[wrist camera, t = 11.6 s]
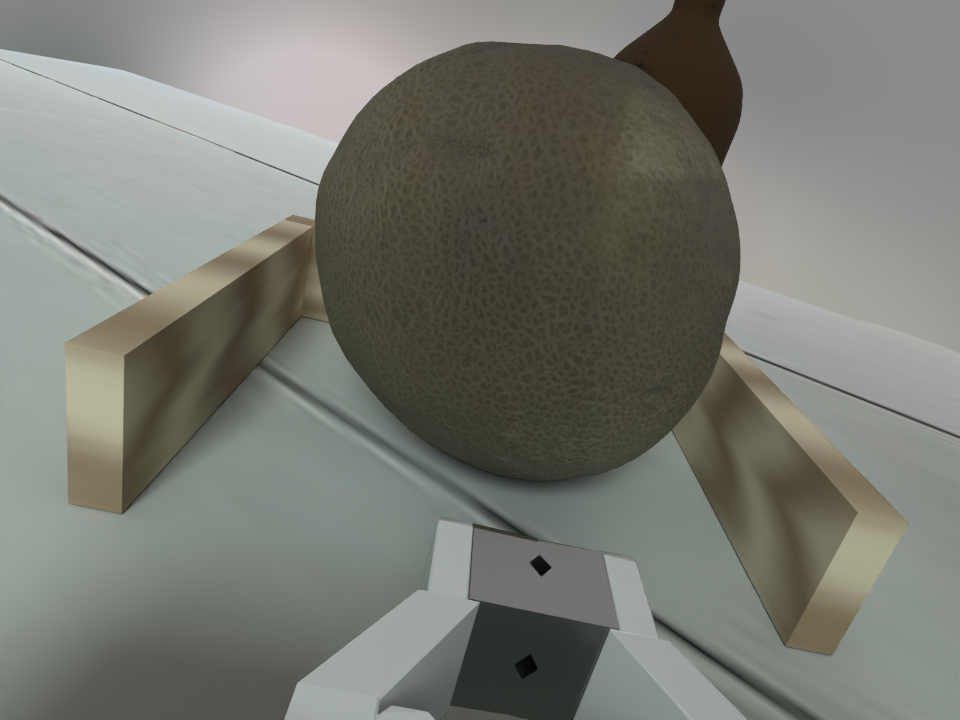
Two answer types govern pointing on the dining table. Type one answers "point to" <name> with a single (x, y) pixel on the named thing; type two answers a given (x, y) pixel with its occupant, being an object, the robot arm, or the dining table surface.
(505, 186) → the cantaloupe
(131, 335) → the box
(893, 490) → the dining table surface
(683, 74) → the olive oil
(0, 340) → the dining table surface
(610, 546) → the dining table surface
